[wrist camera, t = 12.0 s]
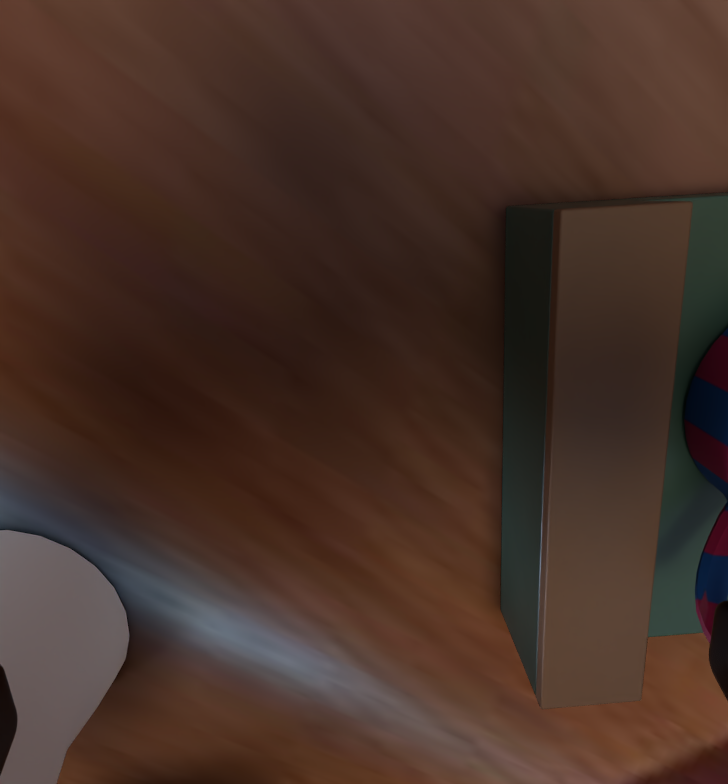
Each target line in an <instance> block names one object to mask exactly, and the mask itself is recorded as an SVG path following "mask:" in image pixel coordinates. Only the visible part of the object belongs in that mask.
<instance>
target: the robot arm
mask: <svg viewBox="0 0 728 784" xmlns="http://www.w3.org/2000/svg"><path fill="white" fill-rule="evenodd" d="M709 661H710V666H711V669H712V672H713V674H714V676H715V678H716V680H717V682H718V684H719V686H720V688H721V689H722V691H723V693H724V695H725V697H726V699H727V701H728V601H723V602H721V603H719V604H718V605H717V607H716V609H715V613H714V620H713V627H712V634H711V641H710V648H709ZM17 721H18V719H17V710H16V707H15V704H14V700H13V697H12V693H11V690H10V687H9V683H8V680H7V677H6V673H5V671H4V668H3V667H2V666H1V665H0V775H1V773H2V770H3V767H4V764H5V762H6V759H7V756H8V753H9V751H10V748H11V745H12V742H13V740H14V737H15V733H16V729H17Z"/></svg>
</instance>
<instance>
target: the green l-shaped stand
mask: <svg viewBox="0 0 728 784" xmlns="http://www.w3.org/2000/svg"><path fill="white" fill-rule="evenodd" d="M727 328H728V192H725V193H709V194H693V195H677V196H661V197H645V198H629V199H612V200H596V201H580V202H564V203H548V204H532V205H516V206H508V207H507V208H506V252H505V327H504V402H503V476H502V551H501V612H502V614H503V617H504V619H505V622H506V624H507V627H508V629H509V632H510V634H511V636H512V639H513V641H514V644H515V646H516V649H517V651H518V654H519V656H520V659H521V661H522V663H523V666H524V668H525V671H526V673H527V676H528V678H529V681H530V683H531V686H532V688H533V690H534V693H535V695H536V698H537V701H538V703H539V706H540V708H541V709H550V708H562V707H573V706H585V705H596V704H608V703H619V702H631V701H640V700H641V697H642V688H643V678H644V669H645V659H646V649H647V640H648V637H656V636H668V635H680V634H691V633H703V630H702V627H701V624H700V621H699V618H698V615H697V613H696V602H695V583H696V572H697V569H698V565H699V561H700V557H701V554H702V551H703V548H704V546H705V543H706V541H707V538H708V536H709V534H710V532H711V530H712V528H713V526H714V523H715V521H716V519H717V517H718V515H719V513H720V512H721V510H722V509H723V507H724V505H725V504H726V502H727V500H726V498H725V496H724V494H723V493H722V492H721V491H719V490H718V489H717V488H716V487H715V486H714V485H713V484H711V483H710V482H709V481H708V480H707V479H706V478H705V476H704V475H703V474H702V473H701V472H700V471H699V469H698V468H697V466H696V464H695V462H694V460H693V458H692V456H691V454H690V451H689V447H688V444H687V440H686V435H685V422H684V418H685V409H686V400H687V397H688V393H689V390H690V386H691V383H692V380H693V378H694V376H695V374H696V372H697V369H698V367H699V365H700V363H701V361H702V360H703V358H704V357H705V355H706V354H707V352H708V351H709V349H710V348H711V346H712V345H713V344H714V342H715V341H716V340H717V339H718V338H719V337H720V336H721V335H722V334H723V333H724V331H725V330H726V329H727ZM727 601H728V597H727Z"/></svg>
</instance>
